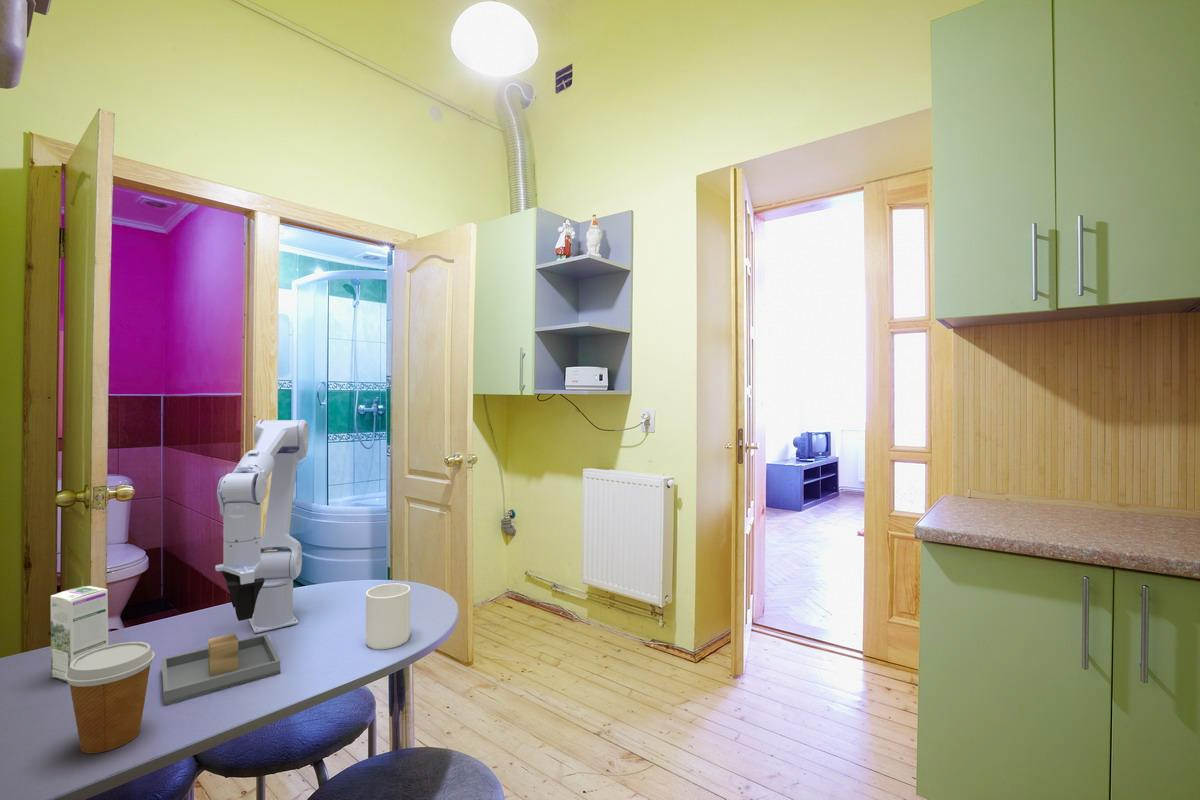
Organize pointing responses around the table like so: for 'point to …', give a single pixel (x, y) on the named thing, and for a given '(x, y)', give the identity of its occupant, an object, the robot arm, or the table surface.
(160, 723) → the table surface
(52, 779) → the table surface
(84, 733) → the disposable coffee cup
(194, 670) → the tray
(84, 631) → the syrup box
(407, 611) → the cup
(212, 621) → the table surface
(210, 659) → the block
